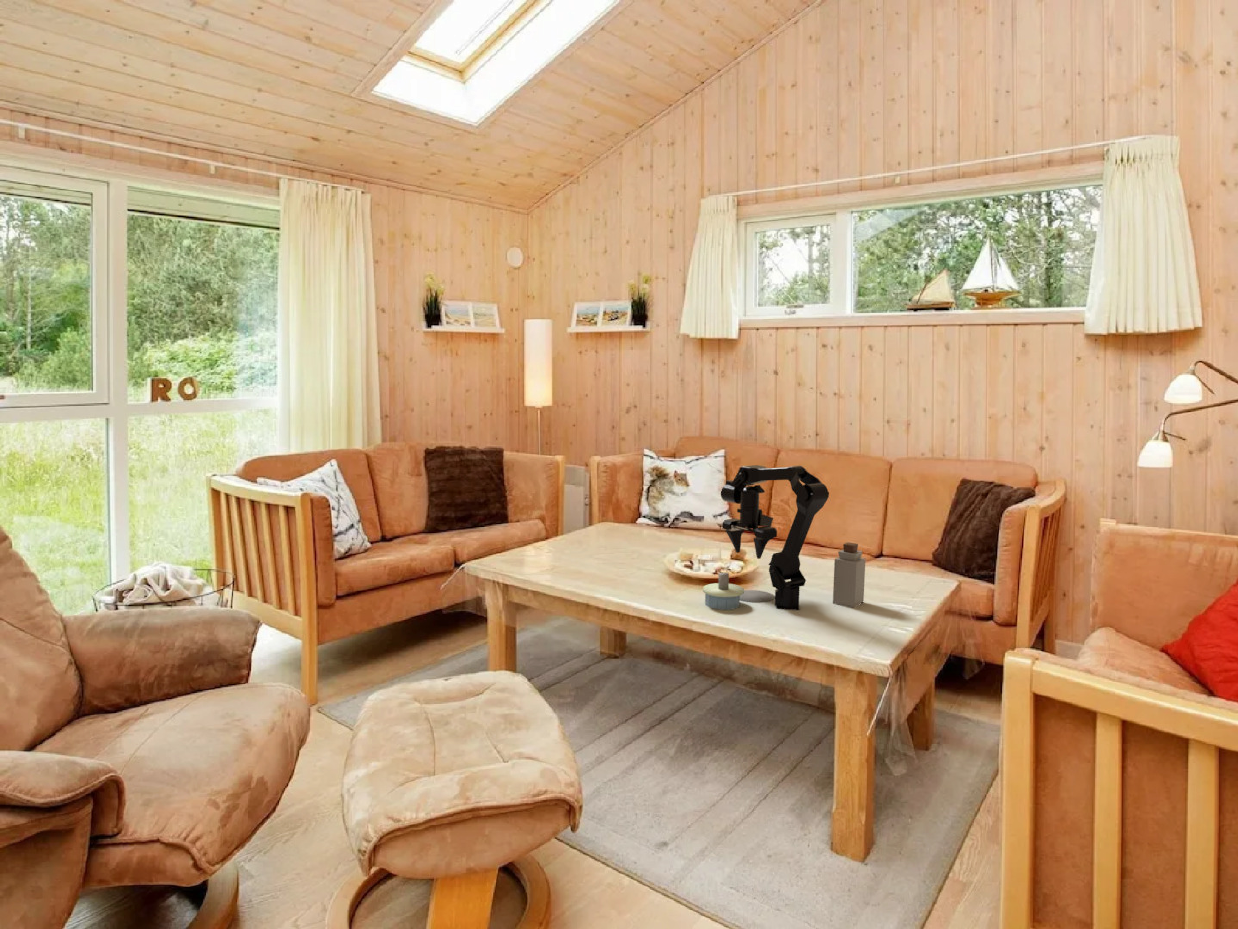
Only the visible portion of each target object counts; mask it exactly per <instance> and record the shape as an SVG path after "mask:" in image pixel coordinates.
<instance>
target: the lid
mask: <svg viewBox="0 0 1238 929" xmlns="http://www.w3.org/2000/svg"><path fill="white" fill-rule="evenodd" d="M729 580H730V574H729V573H728V572H719V573H718V582H715V583H714V582H713V583H709V584H706V585H704V586H702V592H703V593H704V594H705V593H706V594H708V595H711V596H716V597H736V596H740V595H742V594H743V593H744V590H745V589H744V587H742V586H740V585H738V584H734V583H730V582H729Z"/></svg>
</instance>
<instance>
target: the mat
mask: <svg viewBox="0 0 1238 929" xmlns="http://www.w3.org/2000/svg"><path fill="white" fill-rule="evenodd" d="M773 601H775V594H773V593H770V592H768V591H763V590H758V589H757V590H756V589H754V590H753V589H744V593H743V594H742V595H740V602H745V603H753V604H754V603H755V604H760V603H761V604H762V603H770V602H773Z"/></svg>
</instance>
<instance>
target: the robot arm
mask: <svg viewBox="0 0 1238 929" xmlns="http://www.w3.org/2000/svg"><path fill="white" fill-rule="evenodd" d="M787 480H788V482H789V483H790V487H791V490H792V492H793V493H794V495H795V496H796V499H795V503H796V507H797V510H796V513H795V516H794V519H793V521H792V524H791V526H790V529H789V531H788V533H787V534H788V535H787V537H786V539H785V541H784V545H783V548H782V550H781V551H780V552H773V554H772V556H771V559H770V562H769V563H768V566H769V568H768V573H769V577H770V580H771V586H772V588H775V589H774V596H775V599H774V605H775V606H776V609H777V610H787V611H788V610H790V611H791V610H792V611H800V587H805V584H806V581H807V580H806V577H805V576H804V574H803V573H802V571H801V569H800V568H801V561H800V553H801V551H802V548H803V546H804V544H805V542H806V541H805V540H806V538H807V536H808V532H809V531H810V529H811V525H812V522H813V521H814V518H815V515H817V513H819V511H820V510H822V508H824V505H825V504H826V503H827V501H828V499H829V496H830V492H829V490H828V488H827V487H828V486H826V485H825V484H824V483H823V482H822V481H821V480H820V479H819V478H818V477H816V476H815V475H813V474H811V473H810V472H808V470H807V469H806V468H805V467H804V466H802V465H793V466H786V467H785V466H784V467H766V466H763V465H759V464H755V465H752V464H751V465H743V466H740V467H739V468H738V471H737V473H736V475H735V477H734V479H732V480H729V479H728V480H726V481H725V484H724V485H723V486H722V487H721V488H722V489H721V490H720V497H721V500H723V501H724V502H727V503H732V504H733V503H734V504H738V505H739V506H740V507H739V508H737V509H736V510H737V511H736V512H737V513H738V514H739V518H728V519H727V518H726V519H724V520H723V521H722V524H721V525H722V526H721V528H722V529H723V530H724V532H725V533H726V534H727V536H728V538H729V540H730V541H731V543H732V546H733V548H734V551H735V552H736V553H737V554H740V552H741V546H742V535H743V533H744V531H746V532H750V533H753V535H754V537H753V542H754V543H753V544H754V548H755V555H756V558H757V560H759V559H762V556H763V553H764V551H765V548H766V546H767V544H768V543H769V541H770V540H773V539H774V538H777V537H778V536H777V535H778V529H776V528H775V527H772V523H773V521H774V517H771V516H768V515H765V514H763V510H762V508H760V494H764V493H765V489H763V487H761V483H765V482H767V481H787ZM787 580H788V581H787Z"/></svg>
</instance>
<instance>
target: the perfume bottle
mask: <svg viewBox="0 0 1238 929" xmlns="http://www.w3.org/2000/svg"><path fill="white" fill-rule="evenodd" d="M842 545H843V549H841V550H838V551H837V553H838V554H837V555H838V557H837V558H834V564H833V565H834V566H833V567H834V568H833V587H832V588H833V591H832V592H833V593H832V604H835V603H836V604H835V605H841V606H844V605H845V607H849V608H850V607H851V608H854V607H855V608H857V607H859V606H860V605H861V604H862V603H861V602H863V601H864V602H865V598H864V597H865V580H866V579H865V577H866V576H865V575H866V558H864V557H862V554H863V551H862V550H858V547H859V543H857V542H855V543H854V542H845V543H843V544H842ZM864 602H863V603H864ZM860 603H861V604H860ZM859 604H860V605H859Z"/></svg>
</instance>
